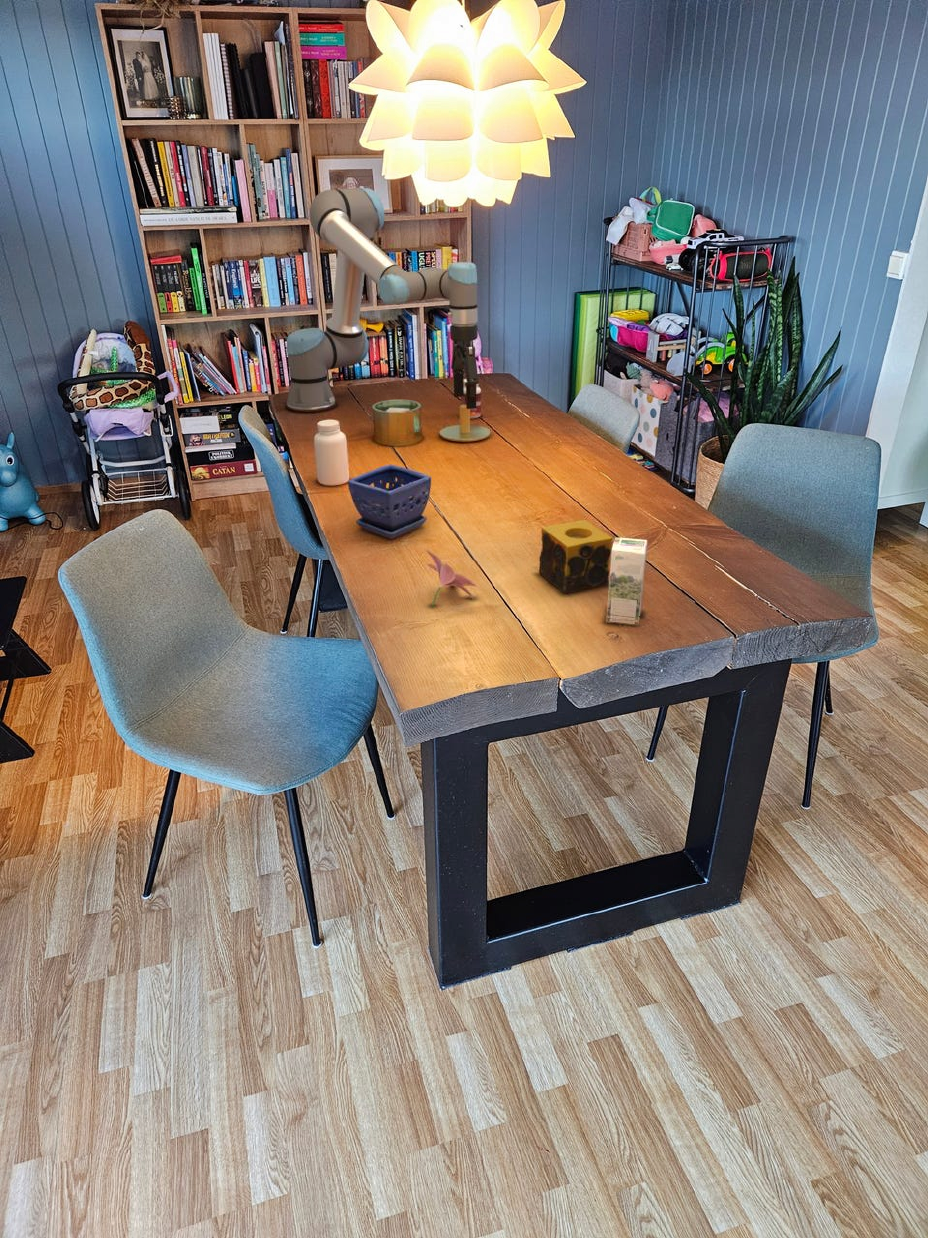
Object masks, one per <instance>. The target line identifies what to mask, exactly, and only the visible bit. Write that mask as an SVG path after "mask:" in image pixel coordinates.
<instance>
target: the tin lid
mask: <svg viewBox="0 0 928 1238" xmlns="http://www.w3.org/2000/svg"><path fill="white" fill-rule="evenodd" d="M458 407H459V408H458V409H459V412H458V413H459V424H455V425H449V426H446V427H444V428H442V429H440V430H439V437H440V438H442V439H444V440H447V441H452V442H464V443H467V442H468V443H469V442H477V441H482V440H484V439H487V438H489V437H490V436H491V429H489V427H485V426H482V425H476V424H471V418H470V409H466V405H461V404H460V405H459V406H458Z"/></svg>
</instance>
